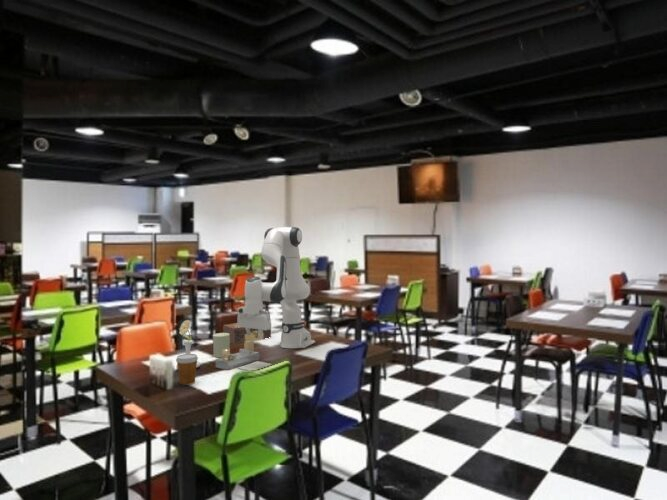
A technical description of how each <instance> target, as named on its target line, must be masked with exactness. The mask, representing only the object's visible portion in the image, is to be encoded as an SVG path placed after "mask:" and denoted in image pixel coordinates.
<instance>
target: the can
mask: <svg viewBox="0 0 667 500" xmlns="http://www.w3.org/2000/svg"><path fill="white" fill-rule="evenodd" d="M212 343H213V344H212V345H213V346H212V347H213V351H212V352H213V353H212V355H213V357H214V358H222V350H223V349H230V350H231V346H230V345H231V343H230V334H229V333H224V332H219V333H214V334H212Z"/></svg>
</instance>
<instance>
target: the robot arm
mask: <svg viewBox="0 0 667 500" xmlns="http://www.w3.org/2000/svg"><path fill="white" fill-rule="evenodd" d="M263 238H264V240H263V243H262V247H261V252H260V255H261V258H262V259H263V261H264V262H266V263H267V264H269V265H270V266H273V267H275V268H276V277H275V278H276V280H275V281H274V282H263V281H262V278H261V277H259V276H252V277H248V278H247V279H245V284H244V297H245V300H244V301H245V302H244V306H242V307H238V308H237V313H238V314H237V318H236V319H237V322H236V323H237V324H238V326H239V327H245V328H246V332H247V334H249V333H251V332H250V328H251V329H258V332H259V333H258V335H257V338H261V334H262V332H263V330H265V331H266V330H270V329H271V330H272V320H271V315H270V313H269V312H268V311H267V310H264V307H263V306H264V305H263V304H264V303H263V302H271V303H272V302H273V303H280V306H281V311H282V312H281V313H282V314H281V315H282V323H281V328H282V330H281V337H280V342H279V345H280V348H283V349H305V348H307V347H310V346H311V345H313V344H315V343H316V341H315V340H314V339H312V334H311V332H310V331H309V330H307V329H306V328H305V327H304V326H306V324H307V322H306V321H302V308H301V307H300V305H298V303H297V300H299V301H300V300H305V299H307V298H308V297H309V295H310V292H311V288H310V285H309V284H308V283H307V281H305V278H304V277H303V273H302V270H301V262H300V259H301V258H300V249H299V245H300V244H301V242H302V240H303V234H302V230H301V229H300V228H299V227H297V226H292V227H291V226H282V227H271V228H267V230H266V231H265V232H264V237H263Z"/></svg>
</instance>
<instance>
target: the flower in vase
mask: <svg viewBox="0 0 667 500" xmlns="http://www.w3.org/2000/svg"><path fill="white" fill-rule="evenodd" d="M190 327H191V321H190V320H189V319H186V320H184V321H183V322H182V323H181V325H180V327H179V329H178V330H179V334H180V335H181V336H184V337H185V338H186V340H182V343H183V345H184V348H185V354H192V353H191V347H192V344H193V342H194V340H193V339H192V335H191V334H190V333H191V332H190V331H189V330H190ZM187 333H188V334H189V335H188V334H187ZM200 366H201V362H200V361H199V360H198V359H197V365H196V369H197V368H199V367H200ZM176 368H177V369H178V365H177V364H176Z"/></svg>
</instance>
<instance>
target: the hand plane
mask: <svg viewBox="0 0 667 500" xmlns="http://www.w3.org/2000/svg"><path fill="white" fill-rule="evenodd" d="M254 342H255V341H253V342H251V341H245V342H244V343H243V346H244V347H243V348H239V352H236V353H231V348H230V349H223V350H222V357H218V358H216V359H215V368H218V369H221V370H226V371H231V370H233V369H236V368H239V367H242V366H245V365H248V364H251V363H254V362H257V361H260V352H259V351H255V349H254V348H255V346H254Z"/></svg>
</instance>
